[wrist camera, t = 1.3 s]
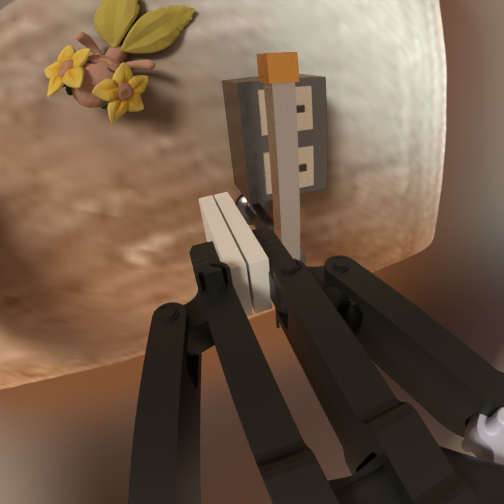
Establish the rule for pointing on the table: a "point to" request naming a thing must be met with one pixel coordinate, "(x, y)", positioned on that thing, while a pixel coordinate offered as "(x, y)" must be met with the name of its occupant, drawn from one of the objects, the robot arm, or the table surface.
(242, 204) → the post
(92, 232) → the table surface
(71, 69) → the figurine
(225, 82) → the block
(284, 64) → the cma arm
